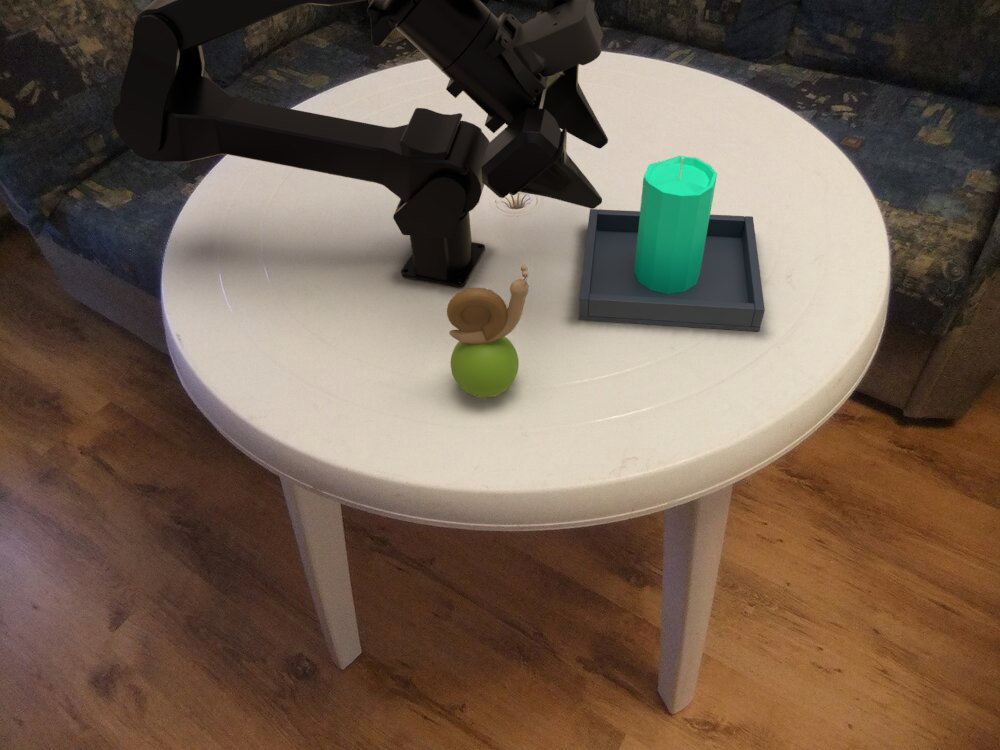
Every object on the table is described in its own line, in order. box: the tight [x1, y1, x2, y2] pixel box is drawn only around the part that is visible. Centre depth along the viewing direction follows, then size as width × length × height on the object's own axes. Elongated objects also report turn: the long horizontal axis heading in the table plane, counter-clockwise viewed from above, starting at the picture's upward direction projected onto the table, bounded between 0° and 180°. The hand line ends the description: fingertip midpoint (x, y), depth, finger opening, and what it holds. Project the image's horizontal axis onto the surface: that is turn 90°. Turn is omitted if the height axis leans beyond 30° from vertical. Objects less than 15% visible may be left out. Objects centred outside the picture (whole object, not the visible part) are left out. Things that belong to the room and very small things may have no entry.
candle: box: [634, 155, 718, 294], centre depth 70 cm, size 6×6×12 cm
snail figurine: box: [446, 264, 530, 398], centre depth 61 cm, size 5×6×12 cm
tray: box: [578, 208, 766, 332], centre depth 73 cm, size 16×14×2 cm
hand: (601, 173), depth 68 cm, fingers open, 9 cm apart
